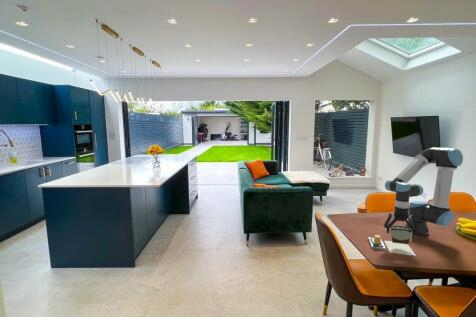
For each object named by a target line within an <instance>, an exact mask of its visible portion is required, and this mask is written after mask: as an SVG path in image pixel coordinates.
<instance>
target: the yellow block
mask: <svg viewBox="0 0 476 317" xmlns="http://www.w3.org/2000/svg"><path fill="white" fill-rule="evenodd" d="M373 236H374V237H373V238H374V243H375V244H377V245H381V240H382V237H381V235H379V234H374V235H373Z"/></svg>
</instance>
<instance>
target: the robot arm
mask: <svg viewBox="0 0 476 317" xmlns="http://www.w3.org/2000/svg"><path fill="white" fill-rule="evenodd" d="M463 162H464V156H463V153H462V151H461V150H460V149H458V148H452V147H434V146H433V147H430V148H429V147H428V148H427V149H424V150H422V151H421V152H419V153H418V154H416V156H414V160H412V162H410V163H409V164H408V165H407V166H406V167H405V168H404V169H403V170H402V171H401V172H400V173H399V174H398V175H396V177H394V179H392V180H390V179H389V180H386V181H385V183H384V188H385V190H386V191H389V192H392V193H395V199H394V201H395V202H394V213H390V212H389V213H388V216H387V218H386V220H385V222H384V224H383V227H384V228H386V233H387V238H388V239H391V234H392V233H391V231H390V229H391V227H392V226H394V225H395V223H396V222H405V223H406V224H405V226H404V227H408V228H410V229H411V230H412V232H411V237H410V242H412V241H413V240H412V238H413V237H414V235H417V236H428V235H429V234H430V230H429V226H428V223H431V224H435V225H437V226H441V227H448V226H449V225H450V224H452V222H453V220H454V212H453V211H452V210H451V206H449V202H450V197H451V196H450V195H451V191H452V190H451V189H452V182H453V176H454V173H455V172H454V171H456V170H457V169H458V167H460V166H461V165H462V164H463ZM430 164H435V167H436V168H437V172H436V178H435V185H434V190H433V191H434V192H433V198H432V202H431V203H428V202H427V201H422V200H421V201H419V200H418V201H416V200H415V201H410V198H411V197H418V196H421V195H423V194H424V188H423V186H422V185H420V184H418V183H417V184H416V183H414V184H410V183H409V182H410V181H411V180H412V179H413V178H414V177H416V175H417V174H418V173H419V172H420V171H421V170H422V169H423V168H425V167H427V166H428V165H430ZM393 217H394V218H393ZM392 218H393V219H392Z"/></svg>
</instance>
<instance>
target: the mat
mask: <svg viewBox="0 0 476 317" xmlns="http://www.w3.org/2000/svg"><path fill="white" fill-rule="evenodd" d="M383 243H384V245H385V247H387V248H386V249H388V252H389V254H396V253H397V254H399V255H404V256H412V255H413V257H416V256H417V255H416V254H415V253H414V251H413V250H412V248H411V247H410V244H409V245H408V244H400V243H392V240H383Z"/></svg>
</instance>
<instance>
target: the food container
mask: <svg viewBox="0 0 476 317" xmlns="http://www.w3.org/2000/svg"><path fill="white" fill-rule="evenodd" d="M390 231H391V233H390V234H391V241H392V243H400V244H408V245H409V246H410V242H411V241H410V237H411V232H412V230H411V229H410V228H408V227H405V226H404V225H398V224H397V225H395V224H394V225H392V226H391V227H390Z"/></svg>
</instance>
